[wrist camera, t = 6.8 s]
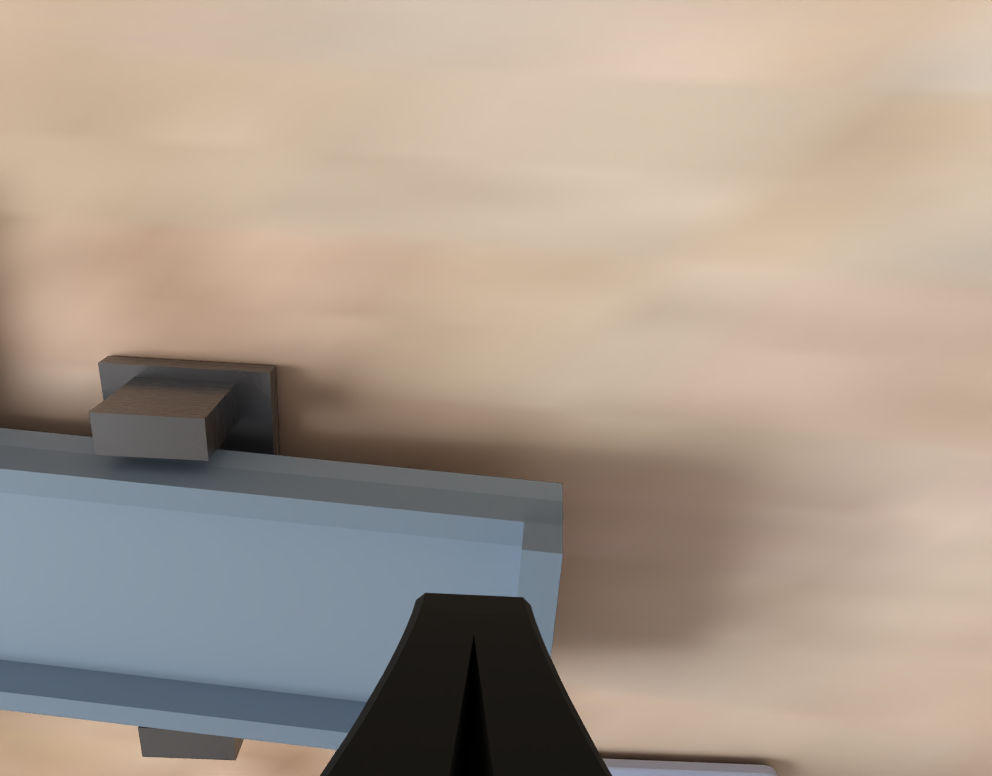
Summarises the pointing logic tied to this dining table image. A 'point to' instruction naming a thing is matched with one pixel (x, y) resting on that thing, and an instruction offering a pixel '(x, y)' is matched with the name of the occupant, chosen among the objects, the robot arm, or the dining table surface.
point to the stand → (185, 453)
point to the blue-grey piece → (241, 581)
